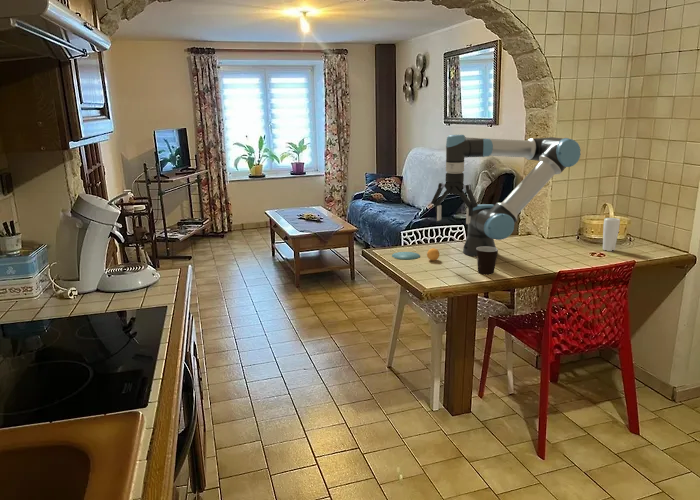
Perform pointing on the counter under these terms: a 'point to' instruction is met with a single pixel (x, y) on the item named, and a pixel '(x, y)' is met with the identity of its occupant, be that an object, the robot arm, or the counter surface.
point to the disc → (406, 255)
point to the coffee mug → (486, 259)
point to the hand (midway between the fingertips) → (453, 221)
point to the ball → (433, 254)
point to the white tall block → (610, 233)
